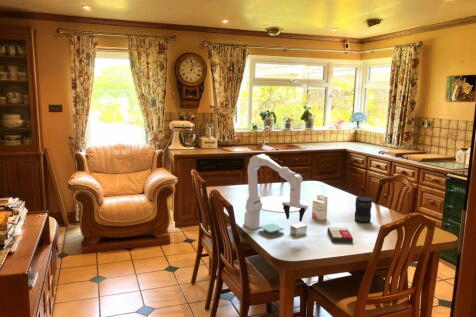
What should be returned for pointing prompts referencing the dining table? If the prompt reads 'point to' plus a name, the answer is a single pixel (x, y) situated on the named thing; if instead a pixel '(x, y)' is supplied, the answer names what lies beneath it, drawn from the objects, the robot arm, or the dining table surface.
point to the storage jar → (363, 210)
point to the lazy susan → (277, 204)
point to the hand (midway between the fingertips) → (294, 219)
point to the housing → (298, 229)
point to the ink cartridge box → (319, 208)
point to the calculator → (339, 235)
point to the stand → (271, 230)
